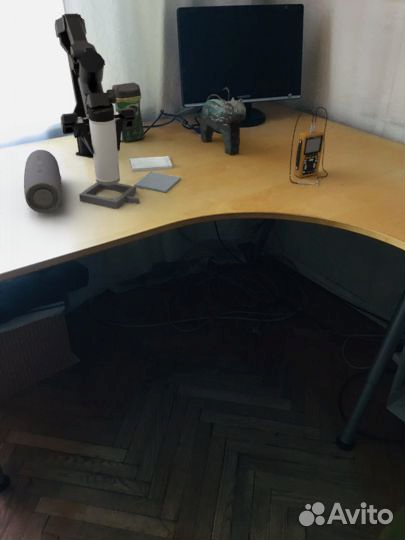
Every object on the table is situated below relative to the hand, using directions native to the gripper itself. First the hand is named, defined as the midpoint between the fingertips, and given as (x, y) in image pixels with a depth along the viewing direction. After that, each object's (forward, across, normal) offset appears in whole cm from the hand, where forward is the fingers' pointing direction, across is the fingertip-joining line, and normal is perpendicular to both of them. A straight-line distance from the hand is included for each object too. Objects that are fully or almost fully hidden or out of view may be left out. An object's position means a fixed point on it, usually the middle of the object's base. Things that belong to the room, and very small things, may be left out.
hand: (106, 151), depth 116 cm
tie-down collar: (+9, +1, +9) cm, 13 cm away
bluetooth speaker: (+5, -16, +14) cm, 22 cm away
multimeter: (+15, +59, +4) cm, 61 cm away
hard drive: (-4, +17, +24) cm, 29 cm away
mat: (+6, +15, +13) cm, 21 cm away
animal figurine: (-9, +43, +28) cm, 52 cm away
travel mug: (+5, 0, +7) cm, 9 cm away
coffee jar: (-22, +16, +41) cm, 50 cm away
